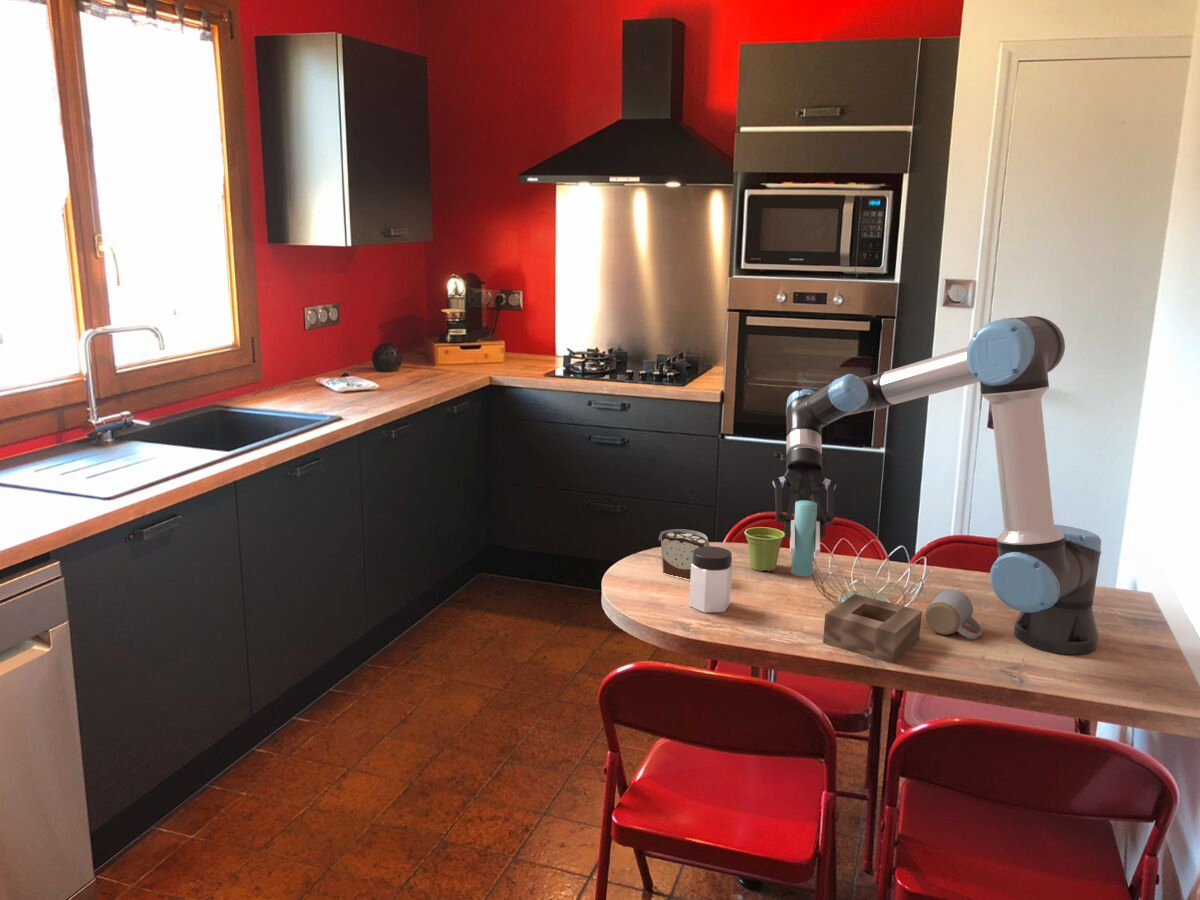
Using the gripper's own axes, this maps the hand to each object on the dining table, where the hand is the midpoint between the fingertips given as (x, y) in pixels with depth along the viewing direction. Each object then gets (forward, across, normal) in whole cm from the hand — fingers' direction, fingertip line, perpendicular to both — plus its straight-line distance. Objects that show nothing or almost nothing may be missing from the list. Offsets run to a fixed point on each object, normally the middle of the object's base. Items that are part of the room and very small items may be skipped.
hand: (804, 551), depth 201 cm
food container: (-6, +24, -26) cm, 36 cm away
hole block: (+17, -13, -4) cm, 22 cm away
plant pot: (-11, +7, -32) cm, 35 cm away
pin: (+1, 0, -7) cm, 7 cm away
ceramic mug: (+11, -30, -11) cm, 34 cm away
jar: (+7, +19, -13) cm, 24 cm away
